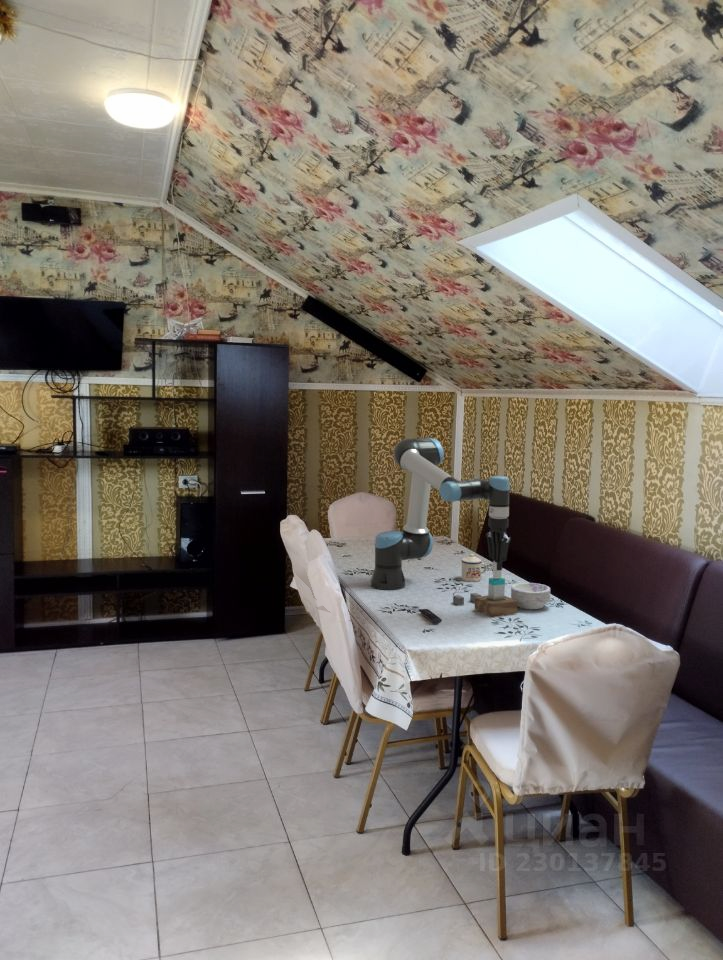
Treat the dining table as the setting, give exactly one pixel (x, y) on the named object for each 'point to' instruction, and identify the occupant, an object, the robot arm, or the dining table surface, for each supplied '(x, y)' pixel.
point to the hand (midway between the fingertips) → (497, 578)
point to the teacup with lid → (472, 568)
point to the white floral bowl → (530, 595)
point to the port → (495, 606)
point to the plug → (496, 589)
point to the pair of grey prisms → (460, 600)
